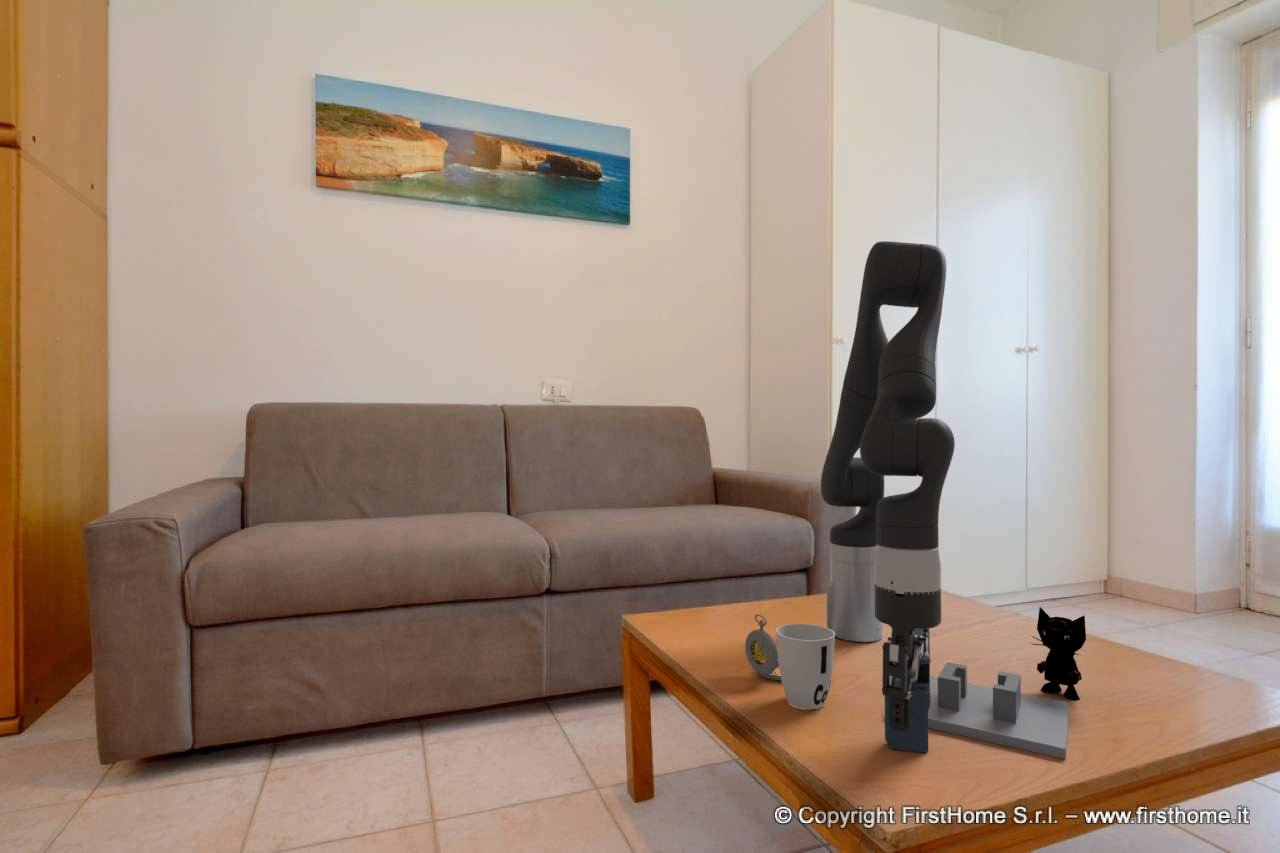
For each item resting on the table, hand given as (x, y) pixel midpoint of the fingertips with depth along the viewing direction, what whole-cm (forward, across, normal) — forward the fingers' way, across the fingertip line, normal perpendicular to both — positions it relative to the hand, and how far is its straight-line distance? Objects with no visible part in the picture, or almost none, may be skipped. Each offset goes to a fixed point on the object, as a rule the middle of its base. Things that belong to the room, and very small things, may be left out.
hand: (908, 716), depth 81 cm
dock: (+4, -15, +6) cm, 17 cm away
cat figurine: (+4, -30, +15) cm, 34 cm away
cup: (+4, -6, -15) cm, 17 cm away
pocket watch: (+4, -13, -23) cm, 27 cm away
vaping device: (+4, 0, 0) cm, 4 cm away
